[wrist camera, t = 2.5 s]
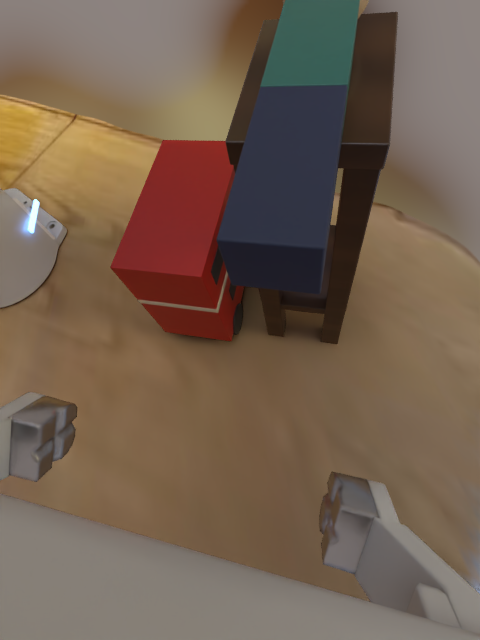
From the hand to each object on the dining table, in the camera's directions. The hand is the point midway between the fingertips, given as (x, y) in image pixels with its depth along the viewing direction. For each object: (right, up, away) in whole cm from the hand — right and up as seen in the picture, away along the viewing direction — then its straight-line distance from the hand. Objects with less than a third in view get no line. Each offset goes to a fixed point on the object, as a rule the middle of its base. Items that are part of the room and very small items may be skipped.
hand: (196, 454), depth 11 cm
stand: (+9, +7, +32) cm, 34 cm away
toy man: (+5, +14, +7) cm, 17 cm away
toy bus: (-2, +8, +34) cm, 35 cm away
